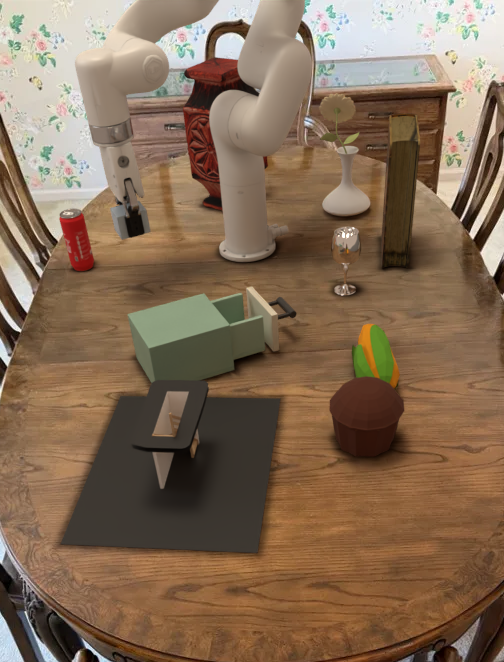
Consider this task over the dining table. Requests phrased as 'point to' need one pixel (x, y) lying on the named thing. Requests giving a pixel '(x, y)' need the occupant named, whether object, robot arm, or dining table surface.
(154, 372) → the cabinet
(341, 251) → the wineglass
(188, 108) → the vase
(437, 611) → the dining table surface
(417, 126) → the book
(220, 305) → the drawer
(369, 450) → the muffin
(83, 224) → the beverage can
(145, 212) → the carton
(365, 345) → the corn
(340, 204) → the flower in vase
